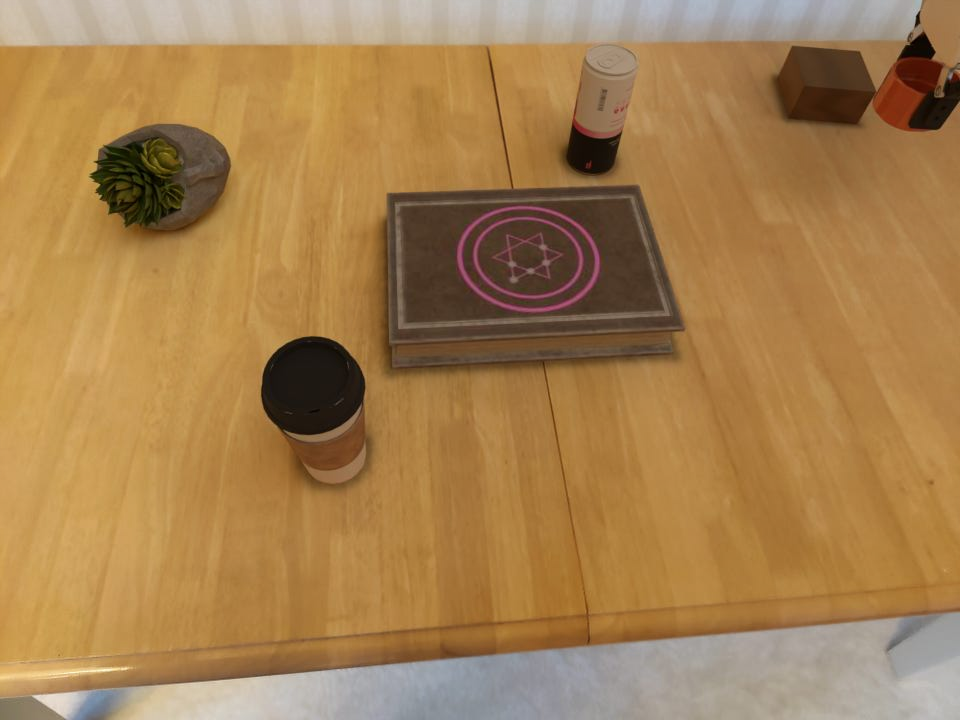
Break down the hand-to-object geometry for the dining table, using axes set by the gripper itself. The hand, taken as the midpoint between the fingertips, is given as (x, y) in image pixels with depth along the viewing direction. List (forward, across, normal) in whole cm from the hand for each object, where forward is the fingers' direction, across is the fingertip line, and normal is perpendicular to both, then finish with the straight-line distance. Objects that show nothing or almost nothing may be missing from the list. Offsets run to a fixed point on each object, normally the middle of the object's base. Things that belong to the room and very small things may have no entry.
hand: (912, 102), depth 71 cm
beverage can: (+18, +8, +31) cm, 37 cm away
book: (+17, -14, +40) cm, 46 cm away
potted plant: (+17, -8, +83) cm, 85 cm away
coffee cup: (+17, -38, +57) cm, 71 cm away
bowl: (+1, 0, 0) cm, 1 cm away
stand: (+18, +26, -3) cm, 31 cm away
